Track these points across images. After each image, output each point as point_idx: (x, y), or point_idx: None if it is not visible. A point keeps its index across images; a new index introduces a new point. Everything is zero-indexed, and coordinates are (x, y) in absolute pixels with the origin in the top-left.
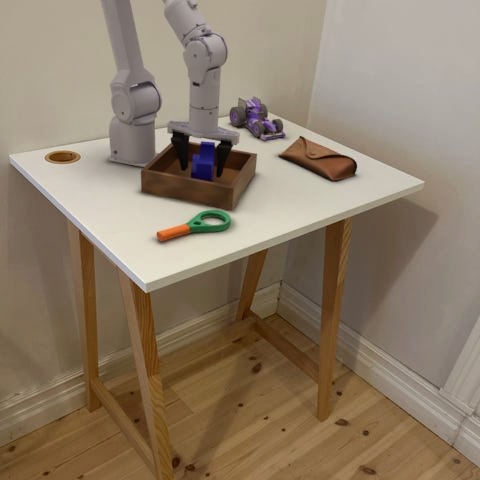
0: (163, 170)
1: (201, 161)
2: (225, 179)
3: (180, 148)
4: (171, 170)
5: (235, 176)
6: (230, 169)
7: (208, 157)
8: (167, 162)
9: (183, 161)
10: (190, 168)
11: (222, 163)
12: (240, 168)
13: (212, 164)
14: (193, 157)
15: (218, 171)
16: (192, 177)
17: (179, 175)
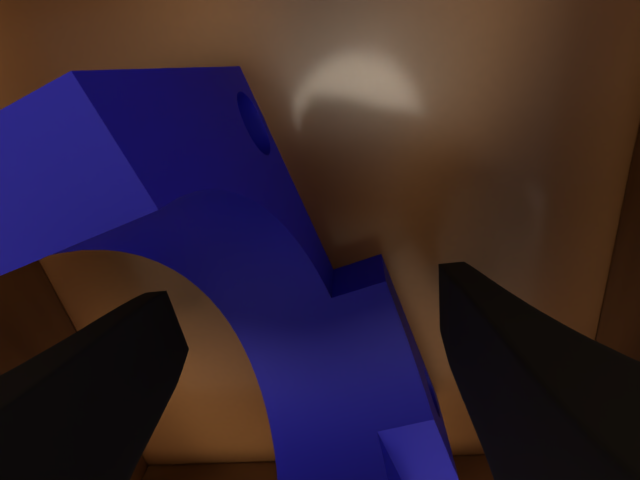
0: (626, 252)
1: (75, 211)
2: (192, 349)
3: (596, 409)
4: (563, 303)
5: (172, 401)
6: (243, 453)
7: (317, 472)
8: (632, 345)
9: (470, 305)
10: (448, 379)
11: (9, 374)
12: (194, 473)
13: (275, 420)
14: (438, 442)
15: (115, 315)
16: (370, 263)
17: (479, 262)
